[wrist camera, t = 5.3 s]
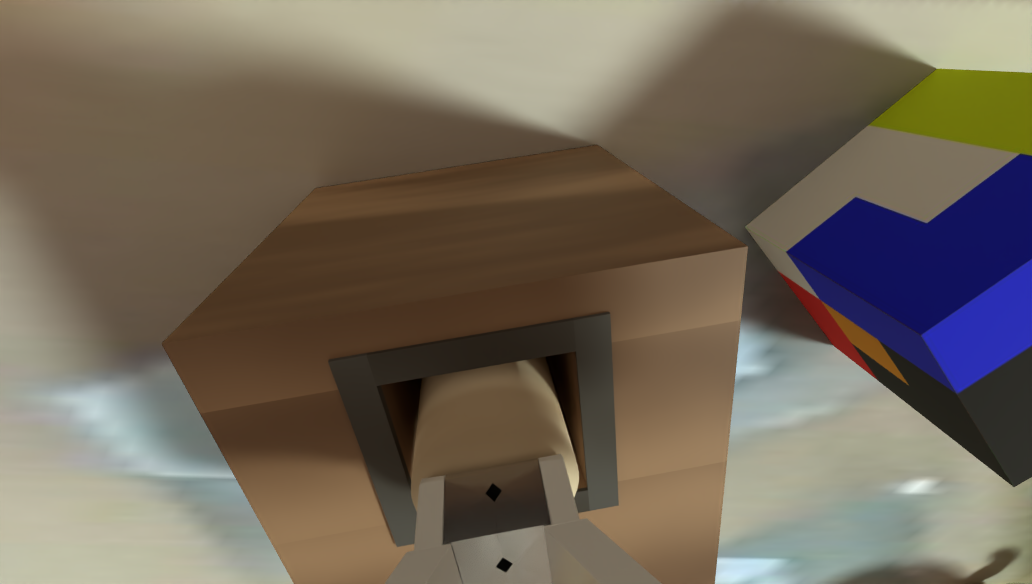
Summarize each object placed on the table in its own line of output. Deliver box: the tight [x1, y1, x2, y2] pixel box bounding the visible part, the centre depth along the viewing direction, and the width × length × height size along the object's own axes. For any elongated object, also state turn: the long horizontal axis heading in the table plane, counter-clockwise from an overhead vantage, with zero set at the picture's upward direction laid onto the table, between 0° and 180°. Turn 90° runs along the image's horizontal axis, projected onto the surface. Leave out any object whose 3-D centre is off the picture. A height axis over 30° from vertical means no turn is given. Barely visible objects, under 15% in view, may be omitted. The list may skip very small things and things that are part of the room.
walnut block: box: [162, 145, 748, 584], centre depth 19 cm, size 18×12×12 cm, turn 7°
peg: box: [411, 357, 579, 511], centre depth 16 cm, size 4×4×12 cm
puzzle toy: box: [745, 69, 1032, 487], centre depth 20 cm, size 10×10×10 cm
